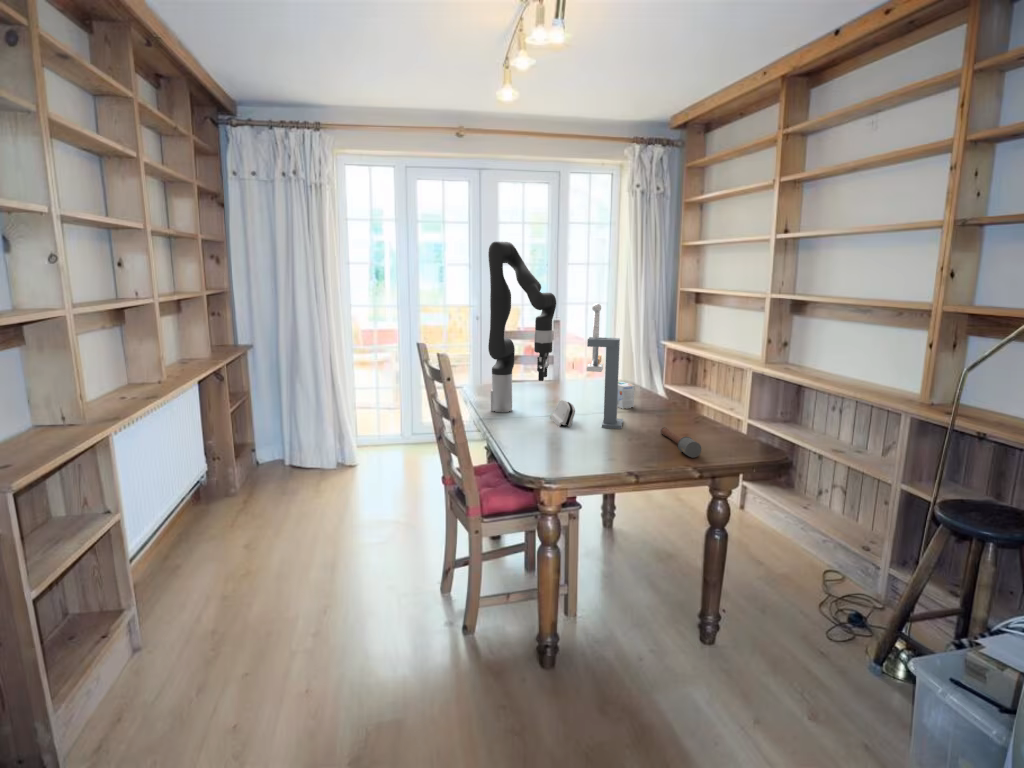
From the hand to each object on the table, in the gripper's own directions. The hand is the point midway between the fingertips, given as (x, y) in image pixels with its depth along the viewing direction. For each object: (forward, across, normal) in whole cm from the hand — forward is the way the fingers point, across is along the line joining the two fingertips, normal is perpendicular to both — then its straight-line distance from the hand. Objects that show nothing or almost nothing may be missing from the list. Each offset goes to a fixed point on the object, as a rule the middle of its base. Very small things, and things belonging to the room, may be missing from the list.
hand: (542, 378), depth 247 cm
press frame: (+18, +1, +26) cm, 32 cm away
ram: (-5, -6, +22) cm, 23 cm away
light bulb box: (+18, -34, +32) cm, 51 cm away
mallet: (+18, +25, +55) cm, 63 cm away
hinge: (+18, +1, +9) cm, 20 cm away
